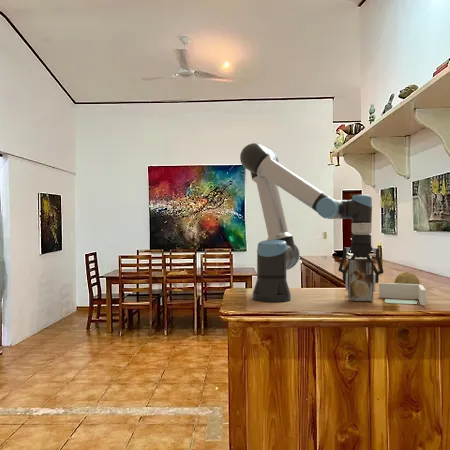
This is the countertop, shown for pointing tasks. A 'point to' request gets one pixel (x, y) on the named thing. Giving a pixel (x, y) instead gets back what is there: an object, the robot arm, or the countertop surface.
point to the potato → (407, 279)
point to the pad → (400, 301)
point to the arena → (403, 291)
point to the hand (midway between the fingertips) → (360, 290)
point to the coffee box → (360, 280)
